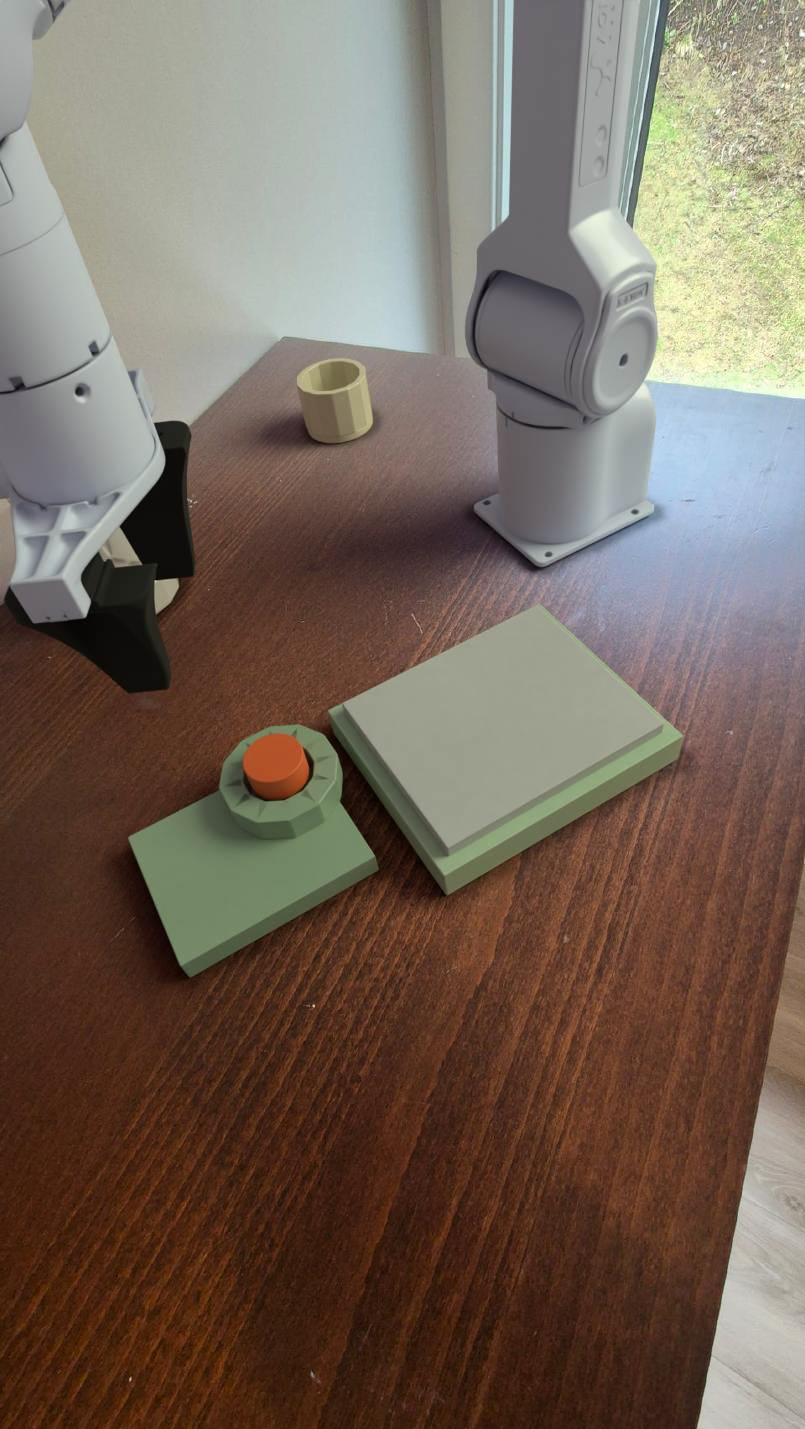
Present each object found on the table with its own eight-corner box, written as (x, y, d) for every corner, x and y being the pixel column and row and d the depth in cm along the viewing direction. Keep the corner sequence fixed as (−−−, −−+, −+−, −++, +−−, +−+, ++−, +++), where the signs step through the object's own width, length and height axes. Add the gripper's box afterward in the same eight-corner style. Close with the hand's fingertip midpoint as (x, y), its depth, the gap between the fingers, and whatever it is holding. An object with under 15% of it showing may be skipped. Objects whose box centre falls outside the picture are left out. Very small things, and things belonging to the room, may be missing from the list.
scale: (538, 627, 49) (539, 592, 47) (678, 759, 42) (686, 725, 40) (333, 733, 46) (323, 700, 43) (446, 896, 38) (442, 867, 36)
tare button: (294, 742, 42) (287, 723, 41) (319, 781, 40) (313, 763, 39) (241, 769, 41) (233, 750, 40) (264, 810, 40) (256, 792, 38)
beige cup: (353, 399, 69) (345, 350, 65) (385, 427, 65) (378, 377, 62) (296, 422, 67) (284, 374, 64) (325, 452, 64) (315, 402, 61)
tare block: (317, 742, 45) (305, 707, 43) (396, 860, 40) (388, 828, 38) (131, 837, 43) (109, 806, 40) (189, 978, 37) (167, 951, 35)
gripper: (-13, 280, 34) (113, 540, 44) (-159, 484, 25) (44, 753, 35) (151, 258, 33) (240, 526, 44) (65, 457, 24) (204, 738, 34)
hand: (163, 626), depth 39 cm, fingers open, 7 cm apart
